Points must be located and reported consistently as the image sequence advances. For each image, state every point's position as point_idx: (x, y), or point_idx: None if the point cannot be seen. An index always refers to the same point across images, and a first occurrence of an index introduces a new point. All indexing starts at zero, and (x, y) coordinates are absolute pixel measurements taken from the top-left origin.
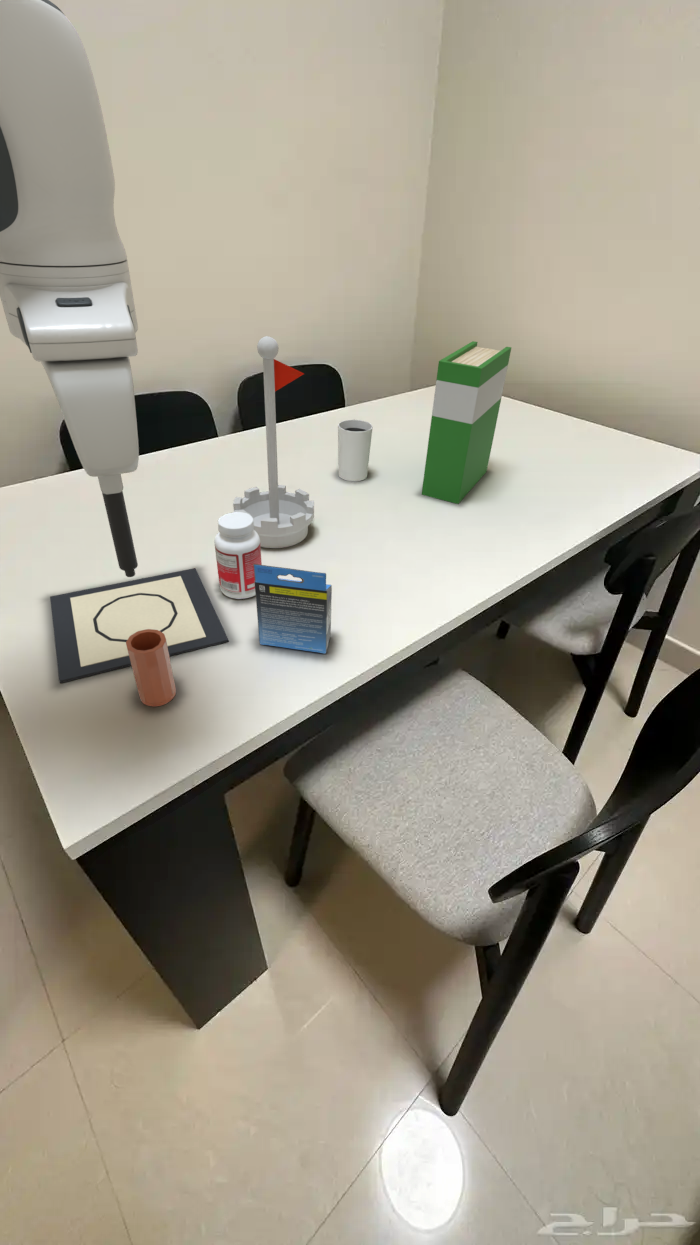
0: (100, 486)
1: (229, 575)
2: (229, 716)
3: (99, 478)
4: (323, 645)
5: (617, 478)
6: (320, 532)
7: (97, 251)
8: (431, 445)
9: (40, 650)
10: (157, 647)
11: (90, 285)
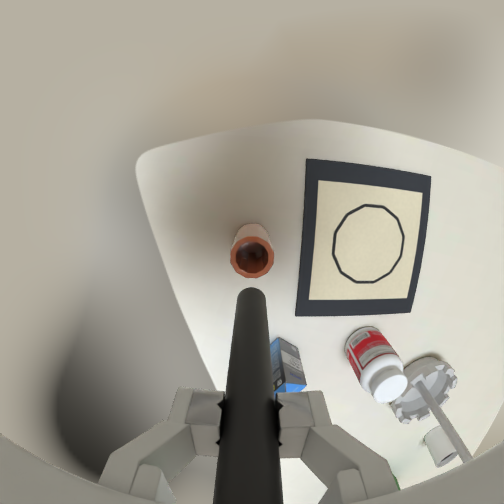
0: (175, 397)
1: (361, 347)
2: (200, 288)
3: (171, 414)
4: None
5: None
6: (391, 408)
7: None
8: None
9: (361, 150)
10: (235, 266)
11: None
